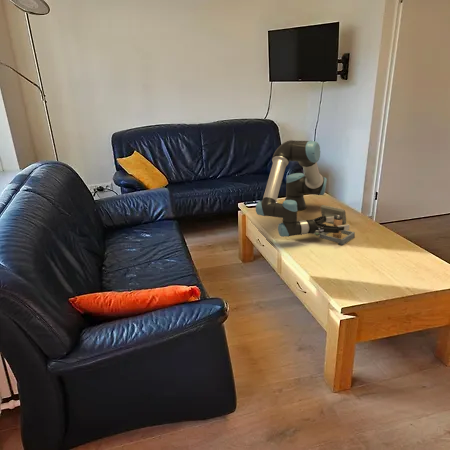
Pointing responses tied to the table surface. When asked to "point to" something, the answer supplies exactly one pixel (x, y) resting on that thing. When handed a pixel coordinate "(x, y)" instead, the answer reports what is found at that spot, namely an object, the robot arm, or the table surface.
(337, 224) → the cell
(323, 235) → the tray
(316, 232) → the checker pad
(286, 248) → the table surface
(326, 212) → the digital clock
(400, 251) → the table surface
